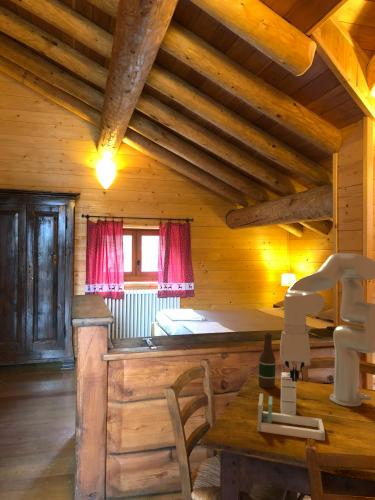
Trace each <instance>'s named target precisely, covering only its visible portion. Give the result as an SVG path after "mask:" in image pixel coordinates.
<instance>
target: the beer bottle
mask: <svg viewBox="0 0 375 500" xmlns="http://www.w3.org/2000/svg"><path fill="white" fill-rule="evenodd" d="M263 336H264V341H263V347H262V348H263V349H262V351H261V352H260V354H259V359H258V377H257V378H258V387H262V388H265V389H271V388H275V386H276V384H275V383H276V365H277V363H276V357H275V354H274V352H273V347H272V346H273V344H272V338H273V334H272V333H270V332H264V334H263Z"/></svg>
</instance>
